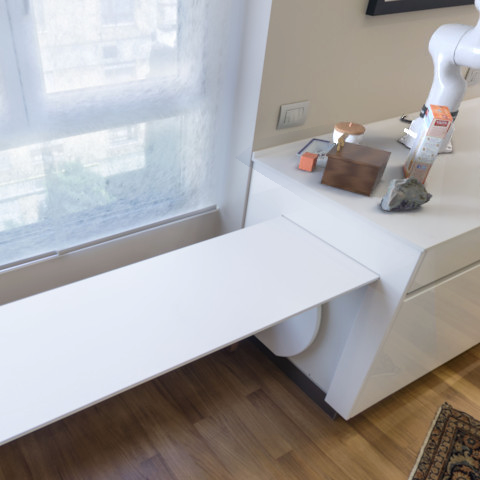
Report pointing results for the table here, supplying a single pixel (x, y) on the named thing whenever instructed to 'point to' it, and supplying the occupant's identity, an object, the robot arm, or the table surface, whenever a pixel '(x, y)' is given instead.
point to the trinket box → (349, 132)
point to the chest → (352, 176)
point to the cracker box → (428, 142)
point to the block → (308, 161)
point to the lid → (358, 153)
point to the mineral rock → (405, 195)
